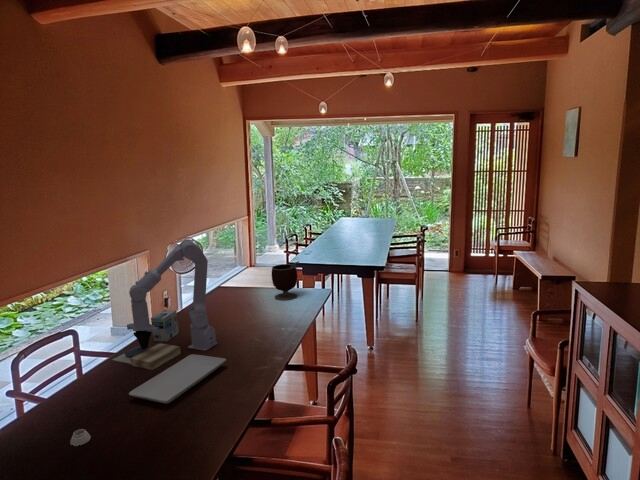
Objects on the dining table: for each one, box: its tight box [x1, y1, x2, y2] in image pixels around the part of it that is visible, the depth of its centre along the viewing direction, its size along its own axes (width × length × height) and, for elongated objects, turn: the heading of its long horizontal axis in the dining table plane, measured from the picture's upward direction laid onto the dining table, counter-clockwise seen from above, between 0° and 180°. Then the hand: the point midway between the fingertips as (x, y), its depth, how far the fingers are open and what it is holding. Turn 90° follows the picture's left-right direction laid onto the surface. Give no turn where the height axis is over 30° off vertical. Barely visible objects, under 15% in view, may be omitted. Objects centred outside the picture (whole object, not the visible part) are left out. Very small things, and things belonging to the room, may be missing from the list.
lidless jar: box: [69, 428, 92, 447], centre depth 126 cm, size 5×3×5 cm
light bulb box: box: [150, 309, 180, 342], centre depth 200 cm, size 11×7×11 cm, turn 168°
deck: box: [130, 342, 182, 371], centre depth 177 cm, size 11×15×3 cm
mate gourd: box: [271, 260, 300, 302], centre depth 247 cm, size 16×14×20 cm
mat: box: [111, 353, 136, 365], centre depth 182 cm, size 11×13×1 cm
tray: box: [128, 353, 227, 405], centre depth 157 cm, size 17×32×4 cm, turn 156°
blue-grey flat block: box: [123, 343, 152, 357], centre depth 181 cm, size 8×6×2 cm
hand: (145, 348), depth 179 cm, fingers closed
